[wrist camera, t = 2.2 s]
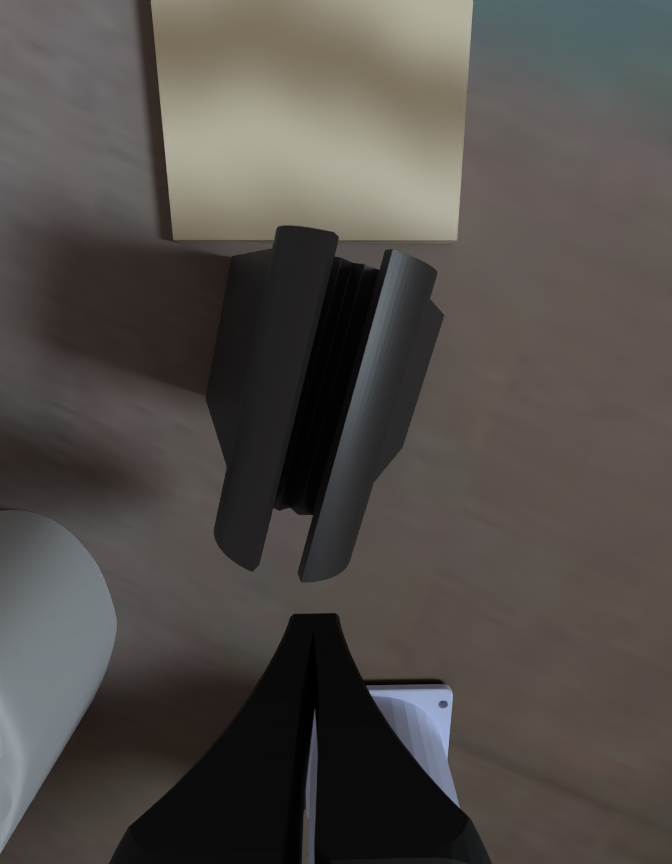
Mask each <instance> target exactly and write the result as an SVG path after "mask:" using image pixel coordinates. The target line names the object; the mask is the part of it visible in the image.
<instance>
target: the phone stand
mask: <svg viewBox="0 0 672 864" xmlns="http://www.w3.org/2000/svg"><path fill="white" fill-rule="evenodd" d="M338 239H339V236H338V235H337V234H335V233H334V232H331V231H326V230H321V229H316V228H310V227H303V226H293V225H284V226H279V227H277V228H276V233H275V238H274V243H273V248H272V249H268V250H263V251H257V252H252V253H247V254H242V255H237V256H232V260H231V265H230V271H229V276H228V281H227V287H226V292H225V298H224V303H223V308H222V314H221V319H220V324H219V330H218V335H217V340H216V346H215V351H214V357H213V362H212V367H211V373H210V378H209V383H208V389H207V394H206V401H207V404H208V408H209V411H210V414H211V417H212V421H213V424H214V427H215V430H216V433H217V437H218V440H219V443H220V446H221V449H222V453H223V456H224V459H225V462H226V466H227V469H226V474H225V479H224V483H223V488H222V493H221V498H220V503H219V507H218V512H217V517H216V522H215V527H214V537H215V540H216V542H217V544H218V546H219V548H220V549H221V550H222V551H223V553H224V554H225V555H226V556H228V557H229V558H230V559H231V560H232V561H234V562H235V563H237V564H238V565H240V566H242V567H243V568H245V569H247V570H249V571H252V572H253V571H254V570H255V569H256V568H257V566H258V565H259V564H260V560H261V555H262V551H263V547H264V543H265V539H266V535H267V531H268V527H269V523H270V519H271V514H272V510H273V508H275V509H277V510H279V511H280V510H283V509H286V508H291V509H293V510H294V511H295V512H296V513H297V514H298V515H313V518H312V522H311V525H310V529H309V533H308V536H307V540H306V544H305V547H304V551H303V555H302V559H301V562H300V566H299V570H298V575H299V578H300V581H301V582H316V581H321V580H326V579H329V578H332V577H334V576H336V575H338V574H339V573H341V572H342V571H343V570H344V569H345V568H346V567H347V566H348V564H349V562H350V559H351V556H352V552H353V549H354V546H355V542H356V539H357V536H358V533H359V529H360V526H361V523H362V519H363V516H364V513H365V510H366V506H367V503H368V500H369V496H370V493H371V490H372V487H373V483H374V482H375V480H376V479H377V478H378V477H379V476H380V474H381V473H382V472H383V471H384V469H385V468H386V467H387V466H388V464H389V463H390V462H391V461H392V460H393V458H394V457H395V456H396V455H397V453H398V452H399V451H400V450H401V449H402V447H403V444H404V441H405V438H406V435H407V431H408V428H409V425H410V422H411V419H412V416H413V412H414V409H415V406H416V403H417V400H418V397H419V393H420V390H421V387H422V384H423V381H424V378H425V374H426V371H427V368H428V365H429V362H430V359H431V355H432V352H433V349H434V346H435V343H436V340H437V336H438V333H439V330H440V327H441V324H442V321H443V317H444V315H443V313H442V312H441V311H440V310H439V309H438V308H437V307H436V305H435V304H434V303H433V302H432V301H431V300H430V296H431V293H432V290H433V286H434V283H435V280H436V277H437V271H436V270H435V269H434V268H433V267H431V266H430V265H428V264H426V263H425V262H423V261H421V260H419V259H416V258H414V257H412V256H409V255H407V254H405V253H402V252H399V251H397V250H394V249H390V250H385V253H384V256H383V260H382V264H381V267H380V270H378V269H376V268H373V267H370V266H367V265H364V264H357V263H351V262H349V261H347V260H345V259H343V258H339V257H334V256H335V252H336V248H337V244H338Z"/></svg>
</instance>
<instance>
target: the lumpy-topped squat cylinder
mask: <svg viewBox="0 0 672 864" xmlns="http://www.w3.org/2000/svg"><path fill="white" fill-rule="evenodd" d="M116 628H117V622H116V615H115V610H114V607H113V603H112V600H111V597H110V594H109V591H108V588H107V585H106V582H105V580H104V577H103V575H102V573H101V571H100V569H99V567H98V565H97V564H96V562H95V561H94V559H93V558H92V556H91V555H90V554H89V552H88V551H87V550H86V549H85V548H84V546H83V545H82V544H81V543H80V542H79V541H78V540H77V539H76V538H75V537H74V536H73V535H72V534H71V533H70V532H69V531H68V530H67V529H65V528H64V527H63V526H61V525H60V524H58V523H57V522H55V521H53V520H51V519H49V518H47V517H45V516H42V515H39V514H36V513H32V512H28V511H21V510H4V511H0V853H1V852H2V850H3V848H4V847H5V845H6V843H7V842H8V840H9V838H10V837H11V835H12V833H13V832H14V830H15V828H16V827H17V825H18V823H19V822H20V820H21V818H22V817H23V815H24V813H25V812H26V810H27V808H28V807H29V805H30V803H31V802H32V800H33V799H34V797H35V795H36V794H37V792H38V790H39V789H40V787H41V785H42V784H43V782H44V780H45V779H46V777H47V775H48V774H49V772H50V770H51V769H52V767H53V766H54V764H55V762H56V761H57V759H58V757H59V756H60V754H61V752H62V751H63V749H64V747H65V746H66V744H67V742H68V741H69V739H70V737H71V736H72V734H73V732H74V731H75V729H76V727H77V726H78V724H79V722H80V721H81V719H82V718H83V716H84V714H85V713H86V711H87V709H88V708H89V706H90V704H91V703H92V701H93V699H94V697H95V694H96V692H97V690H98V688H99V686H100V684H101V682H102V680H103V677H104V675H105V672H106V669H107V666H108V663H109V660H110V657H111V653H112V650H113V646H114V641H115V636H116Z"/></svg>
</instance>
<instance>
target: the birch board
mask: <svg viewBox="0 0 672 864" xmlns="http://www.w3.org/2000/svg"><path fill="white" fill-rule="evenodd" d="M151 8H152V19H153V30H154V40H155V51H156V61H157V72H158V83H159V93H160V104H161V115H162V125H163V136H164V147H165V157H166V168H167V179H168V189H169V200H170V210H171V221H172V232H173V240H174V241H176V242H179V243H274V238H275V233H276V228H277V227H279V226H284V225H293V226H303V227H310V228H316V229H321V230H326V231H331V232H334V233H335V234H337V235H338V236H339V239H338V243H359V244H451V243H453V242H455V241H457V232H458V217H459V202H460V187H461V172H462V158H463V143H464V128H465V113H466V98H467V83H468V68H469V54H470V39H471V24H472V9H473V0H151Z"/></svg>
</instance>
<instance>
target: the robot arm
mask: <svg viewBox="0 0 672 864" xmlns="http://www.w3.org/2000/svg"><path fill="white" fill-rule="evenodd" d="M452 699H453V694H452V691H451V688H450V687H449V686H448V685H446V684H418V685H365V683H364V681H363V679H362V677H361V675H360V673H359V671H358V669H357V667H356V665H355V662H354V660H353V658H352V656H351V653H350V651H349V649H348V646H347V643H346V641H345V638H344V635H343V632H342V628H341V624H340V619H339V616H338V615H337V614H336V613H323V614H293V615H292V616H291V617H290V620H289V623H288V626H287V628H286V631H285V633H284V635H283V638H282V640H281V642H280V644H279V646H278V648H277V650H276V652H275V654H274V656H273V658H272V659H271V661H270V663H269V665H268V667H267V669H266V670H265V672H264V674H263V675H262V677H261V679H260V680H259V682H258V683H257V685H256V687H255V688H254V690H253V691H252V693H251V695H250V696H249V698H248V699H247V701H246V702H245V703H244V705H243V706H242V708H241V709H240V711H239V712H238V713H237V715H236V716H235V717H234V719H233V720H232V721H231V723H230V724H229V725H228V726H227V728H226V729H225V730H224V731H223V733H222V734H221V735H220V736H219V737H218V739H217V740H216V741H215V742H214V744H213V745H212V746H211V747H210V748H209V749H208V751H207V752H206V753H205V754H204V755H203V756H202V757H201V758H200V759H199V760H198V762H197V763H196V764H195V765H194V766H193V767H192V768H191V769H190V770H189V771H188V772H187V773H186V774H185V775H184V776H183V777H182V778H181V779H180V780H179V781H178V782H177V783H176V784H175V785H174V786H173V787H172V788H171V789H170V790H169V791H168V792H167V793H166V794H165V795H164V796H163V797H162V798H161V799H160V800H158V801H157V802H156V803H155V804H154V805H153V806H152V807H151V808H150V809H148V810H147V811H146V812H145V813H144V814H143V815H142V816H141V817H140V818H138V819H137V820H136V821H135V822H134V823H133V824H132V825H130V826H129V827H128V829H127V831H126V832H125V834H124V836H123V838H122V840H121V841H120V843H119V845H118V847H117V849H116V851H115V853H114V855H113V857H112V859H111V861H110V863H109V864H302V839H303V814H304V802H305V791H306V816H307V818H308V819H309V840H308V864H492V863H491V861H490V858H489V856H488V853H487V851H486V849H485V847H484V845H483V842H482V840H481V838H480V836H479V834H478V832H477V830H476V828H475V826H474V824H473V822H472V820H471V819H470V818H469V817H468V816H467V815H466V814H465V813H464V812H463V811H462V810H461V809H460V806H459V803H458V799H457V795H456V791H455V788H454V784H453V780H452V777H451V773H450V769H449V765H448V762H447V756H448V745H449V733H450V722H451V711H452ZM440 701H443V702H440Z"/></svg>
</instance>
